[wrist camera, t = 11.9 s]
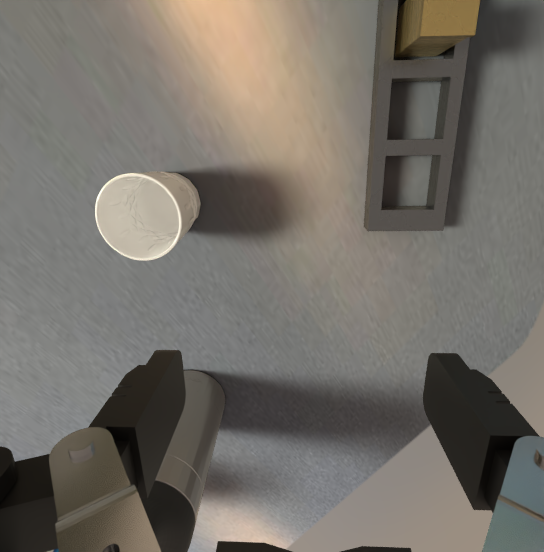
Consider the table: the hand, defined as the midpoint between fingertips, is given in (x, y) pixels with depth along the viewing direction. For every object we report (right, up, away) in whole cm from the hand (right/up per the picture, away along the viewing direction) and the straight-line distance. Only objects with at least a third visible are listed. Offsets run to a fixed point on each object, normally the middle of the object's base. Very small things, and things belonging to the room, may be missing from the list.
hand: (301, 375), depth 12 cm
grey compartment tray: (+13, +20, +26) cm, 36 cm away
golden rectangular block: (+13, +27, +24) cm, 38 cm away
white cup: (-12, +12, +31) cm, 35 cm away
